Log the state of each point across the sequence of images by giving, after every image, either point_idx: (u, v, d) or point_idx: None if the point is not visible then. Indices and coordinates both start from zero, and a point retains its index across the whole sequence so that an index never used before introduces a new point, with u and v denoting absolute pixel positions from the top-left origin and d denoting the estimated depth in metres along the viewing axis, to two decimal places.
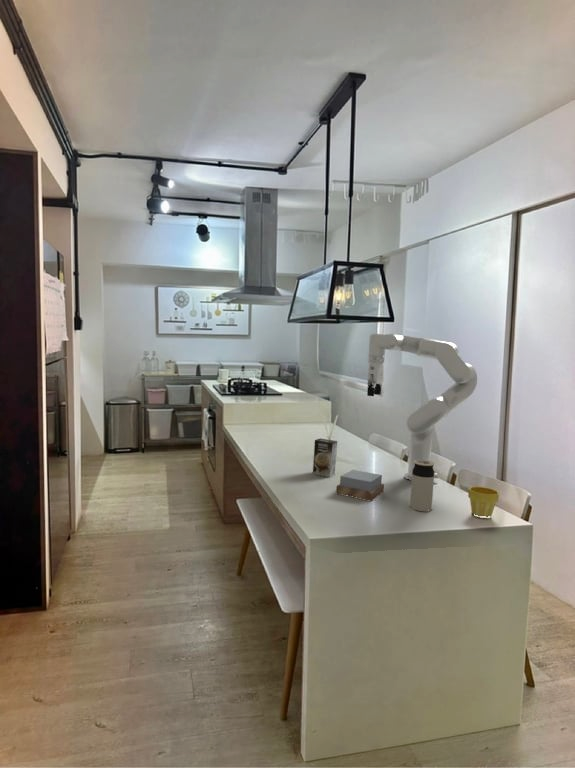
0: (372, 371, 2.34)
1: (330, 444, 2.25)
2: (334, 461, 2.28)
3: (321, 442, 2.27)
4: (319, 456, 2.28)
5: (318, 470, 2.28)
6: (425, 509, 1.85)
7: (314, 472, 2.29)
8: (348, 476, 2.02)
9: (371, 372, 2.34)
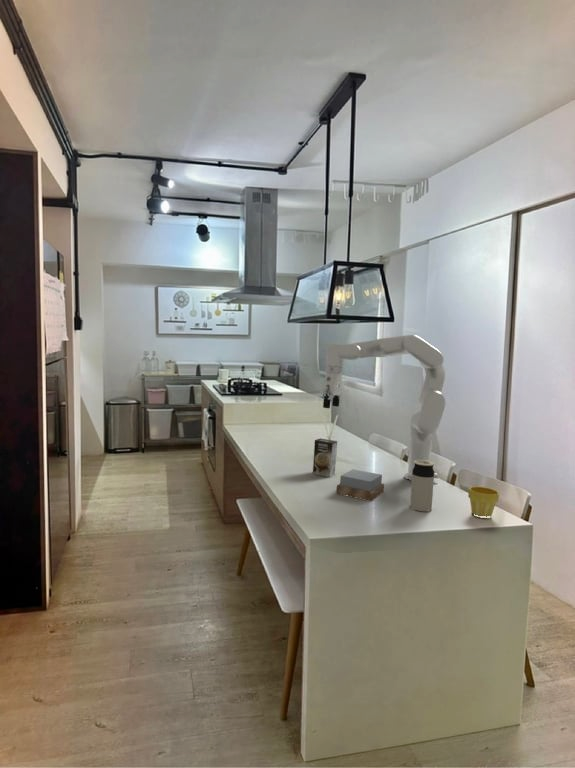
0: (328, 382, 2.23)
1: (330, 444, 2.25)
2: (334, 461, 2.28)
3: (321, 442, 2.27)
4: (319, 456, 2.28)
5: (318, 470, 2.28)
6: (425, 509, 1.85)
7: (314, 472, 2.29)
8: (348, 476, 2.02)
9: (327, 383, 2.24)
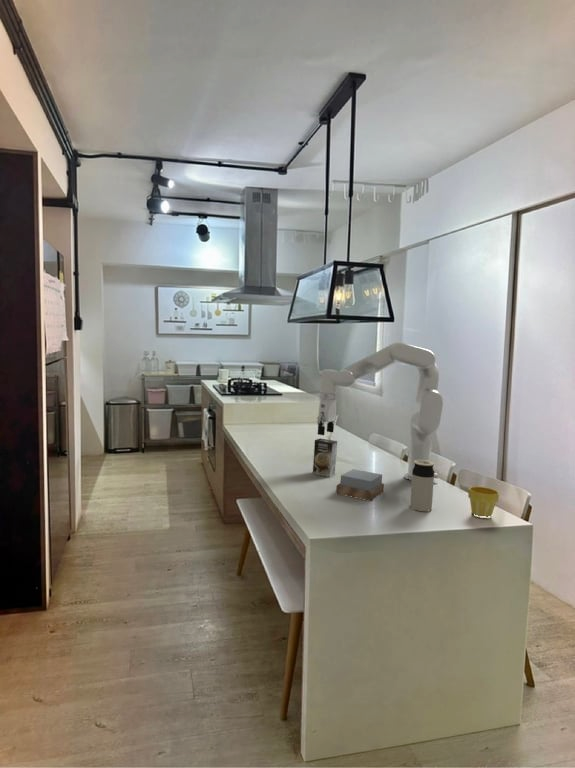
0: (323, 409, 2.23)
1: (330, 444, 2.25)
2: (334, 461, 2.28)
3: (321, 442, 2.27)
4: (319, 456, 2.28)
5: (318, 470, 2.28)
6: (425, 509, 1.85)
7: (314, 472, 2.29)
8: (348, 475, 2.02)
9: (321, 410, 2.24)
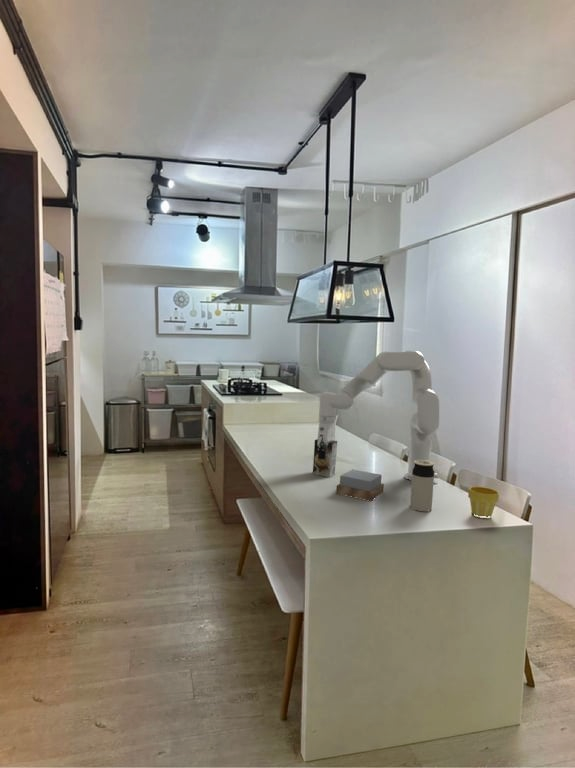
0: (322, 432, 2.24)
1: (330, 444, 2.25)
2: (334, 461, 2.28)
3: (321, 442, 2.27)
4: None
5: (318, 470, 2.28)
6: (425, 509, 1.85)
7: (314, 472, 2.29)
8: (348, 476, 2.02)
9: (320, 433, 2.25)
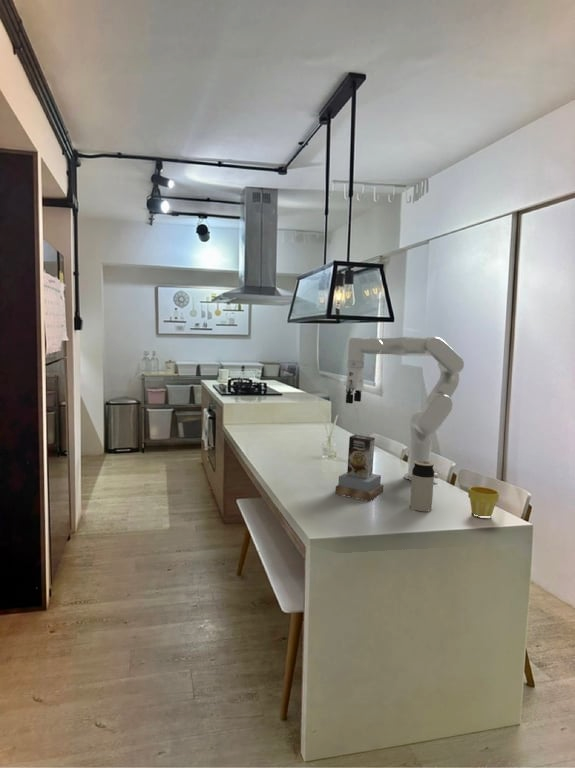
0: (351, 377, 2.22)
1: (367, 441, 1.98)
2: (371, 460, 2.02)
3: (357, 439, 2.00)
4: (354, 455, 2.01)
5: (354, 471, 2.02)
6: (425, 509, 1.85)
7: (349, 473, 2.03)
8: (346, 476, 2.02)
9: (349, 378, 2.23)
